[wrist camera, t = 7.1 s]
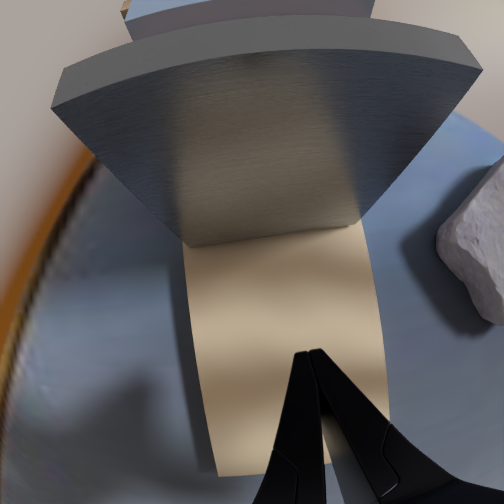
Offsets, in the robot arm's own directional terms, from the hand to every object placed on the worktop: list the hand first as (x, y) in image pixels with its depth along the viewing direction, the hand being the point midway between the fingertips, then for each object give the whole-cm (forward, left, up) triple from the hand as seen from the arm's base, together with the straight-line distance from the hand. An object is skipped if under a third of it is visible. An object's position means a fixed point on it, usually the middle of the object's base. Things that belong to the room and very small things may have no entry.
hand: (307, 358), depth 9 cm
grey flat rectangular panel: (+5, +3, -6) cm, 9 cm away
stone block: (+11, -13, -8) cm, 19 cm away
